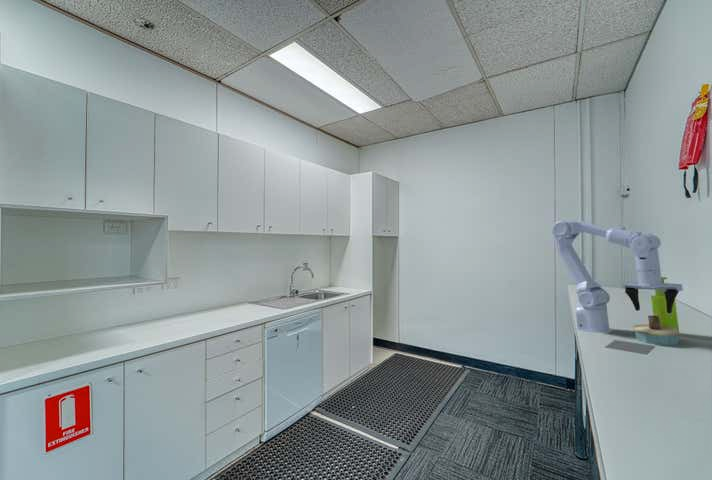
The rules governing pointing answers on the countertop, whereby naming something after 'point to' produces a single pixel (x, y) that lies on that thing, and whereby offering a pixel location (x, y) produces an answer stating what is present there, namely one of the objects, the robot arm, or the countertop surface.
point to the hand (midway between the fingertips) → (653, 311)
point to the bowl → (657, 339)
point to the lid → (655, 328)
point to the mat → (630, 347)
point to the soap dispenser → (664, 309)
